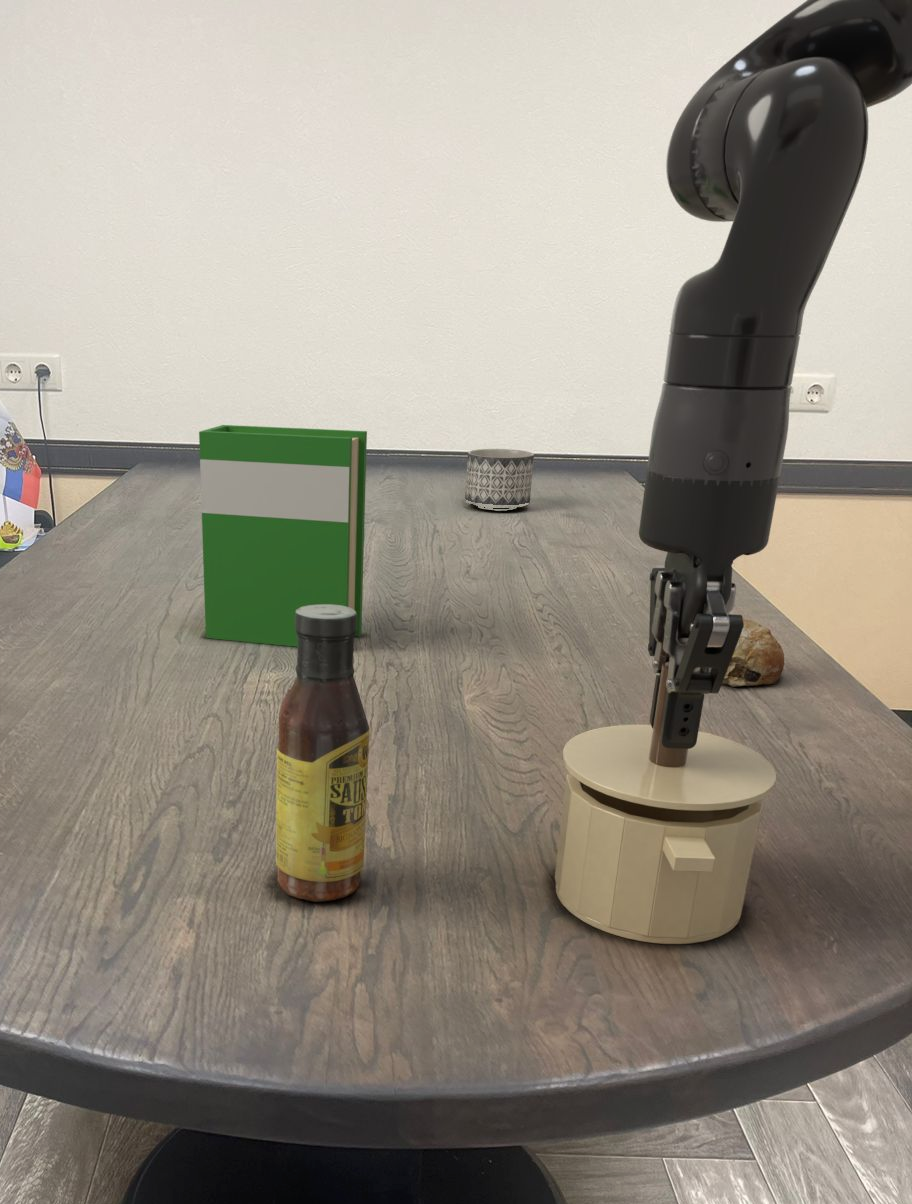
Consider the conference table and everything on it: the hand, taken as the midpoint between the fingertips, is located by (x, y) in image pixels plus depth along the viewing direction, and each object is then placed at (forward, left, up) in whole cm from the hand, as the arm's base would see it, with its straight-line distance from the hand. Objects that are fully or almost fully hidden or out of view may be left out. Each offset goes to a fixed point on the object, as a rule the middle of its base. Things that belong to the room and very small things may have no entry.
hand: (671, 736), depth 73 cm
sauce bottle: (+23, 0, -12) cm, 26 cm away
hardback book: (+31, -62, -12) cm, 70 cm away
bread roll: (-20, -52, -12) cm, 57 cm away
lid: (0, 0, -2) cm, 2 cm away
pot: (0, 0, -12) cm, 12 cm away
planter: (-3, -155, -12) cm, 156 cm away
